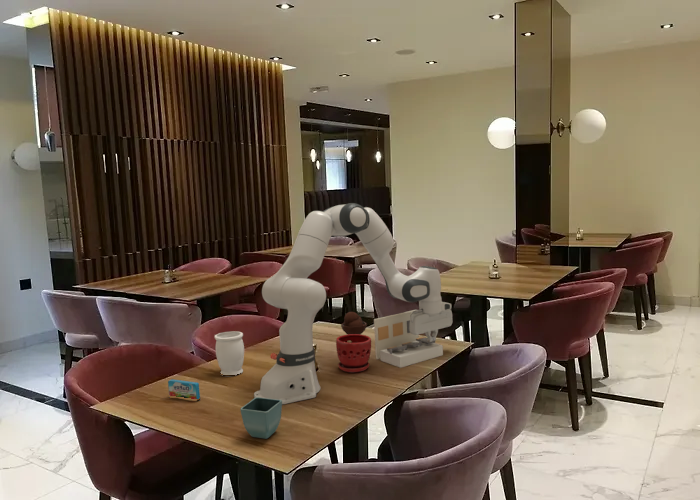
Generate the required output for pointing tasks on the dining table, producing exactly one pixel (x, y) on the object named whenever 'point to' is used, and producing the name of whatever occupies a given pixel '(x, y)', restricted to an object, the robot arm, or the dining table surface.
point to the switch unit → (401, 341)
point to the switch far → (424, 340)
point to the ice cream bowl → (353, 324)
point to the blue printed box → (184, 389)
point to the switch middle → (411, 344)
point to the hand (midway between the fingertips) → (431, 341)
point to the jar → (230, 352)
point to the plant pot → (353, 352)
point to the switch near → (396, 348)
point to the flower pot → (261, 416)
